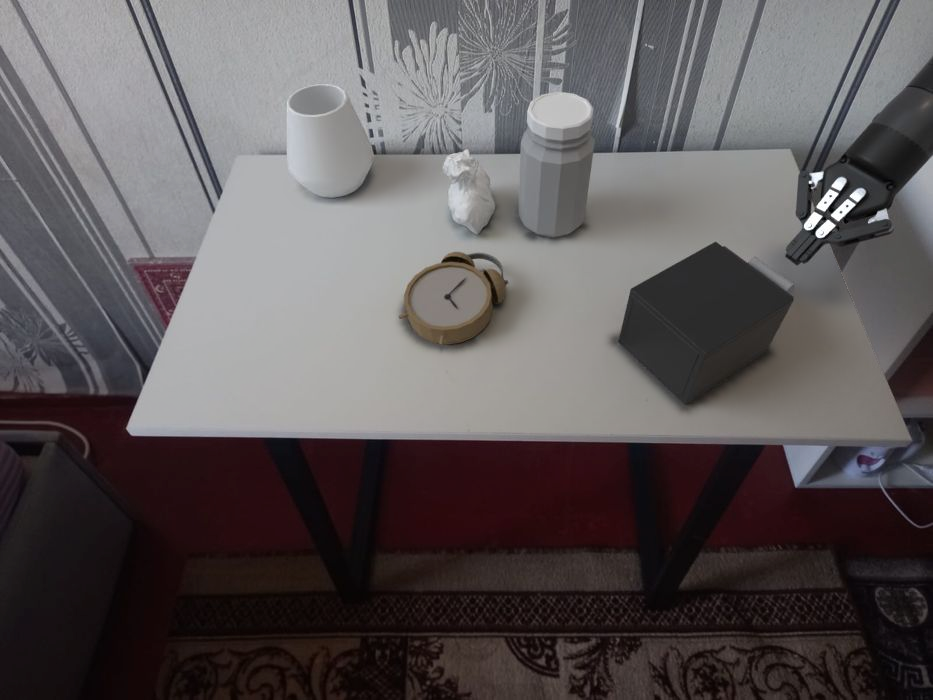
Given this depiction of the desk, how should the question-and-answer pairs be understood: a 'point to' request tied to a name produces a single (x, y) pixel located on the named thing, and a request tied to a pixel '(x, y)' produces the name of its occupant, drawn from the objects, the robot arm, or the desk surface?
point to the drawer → (769, 274)
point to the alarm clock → (453, 298)
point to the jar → (555, 164)
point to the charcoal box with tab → (702, 320)
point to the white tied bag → (468, 191)
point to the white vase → (326, 141)
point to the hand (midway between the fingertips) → (791, 260)
